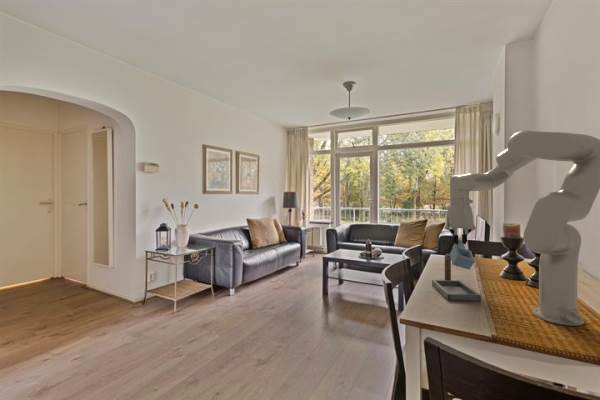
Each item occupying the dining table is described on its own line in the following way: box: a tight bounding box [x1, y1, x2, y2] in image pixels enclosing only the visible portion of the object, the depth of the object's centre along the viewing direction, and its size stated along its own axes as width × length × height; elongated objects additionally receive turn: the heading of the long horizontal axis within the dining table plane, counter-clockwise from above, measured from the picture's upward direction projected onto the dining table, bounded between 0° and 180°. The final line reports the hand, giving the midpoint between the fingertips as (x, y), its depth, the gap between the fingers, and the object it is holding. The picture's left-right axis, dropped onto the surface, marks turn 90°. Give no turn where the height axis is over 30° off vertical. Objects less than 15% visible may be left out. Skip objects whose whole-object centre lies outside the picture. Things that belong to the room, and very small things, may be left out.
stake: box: [444, 253, 452, 280], centre depth 137 cm, size 3×3×13 cm
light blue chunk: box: [448, 239, 476, 270], centre depth 127 cm, size 7×13×5 cm
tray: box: [431, 279, 482, 303], centre depth 121 cm, size 19×12×2 cm, turn 172°
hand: (460, 243), depth 130 cm, fingers closed on light blue chunk, 2 cm apart
